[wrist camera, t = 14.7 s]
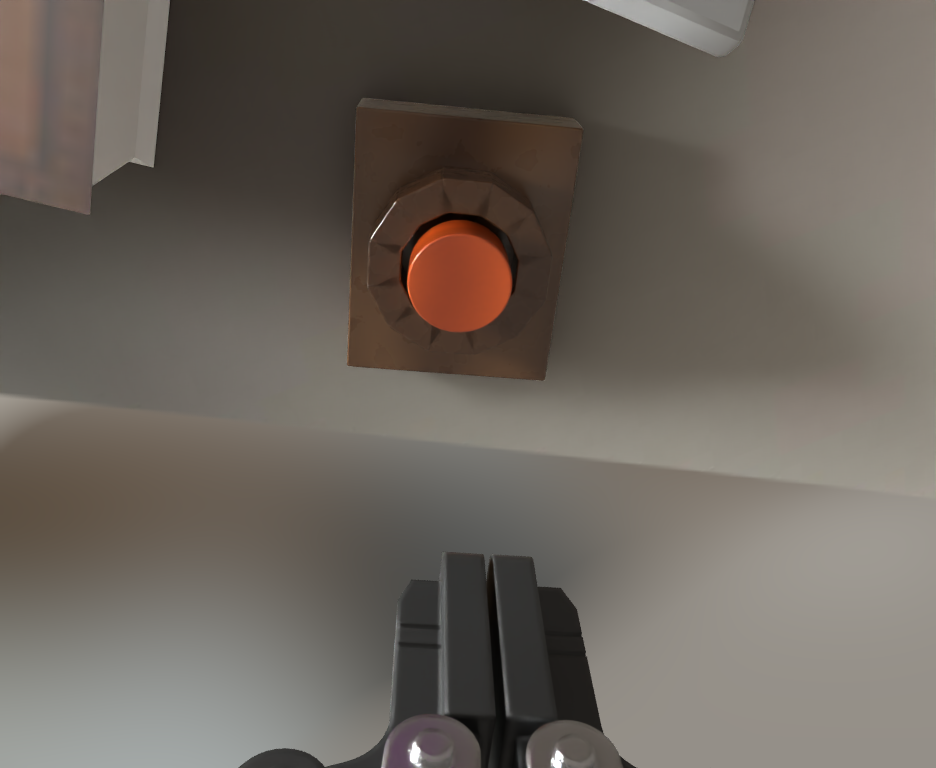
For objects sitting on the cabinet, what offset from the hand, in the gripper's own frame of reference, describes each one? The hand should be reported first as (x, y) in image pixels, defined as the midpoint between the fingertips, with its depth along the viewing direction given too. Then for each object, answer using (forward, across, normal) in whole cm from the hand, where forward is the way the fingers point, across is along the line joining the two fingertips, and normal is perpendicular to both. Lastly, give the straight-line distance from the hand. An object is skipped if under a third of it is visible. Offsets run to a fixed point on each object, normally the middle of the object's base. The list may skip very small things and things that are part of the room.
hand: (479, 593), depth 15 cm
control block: (+21, 0, 0) cm, 21 cm away
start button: (+17, 0, 0) cm, 17 cm away
